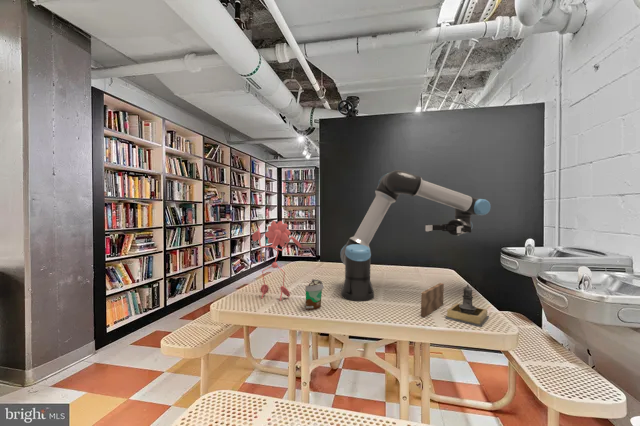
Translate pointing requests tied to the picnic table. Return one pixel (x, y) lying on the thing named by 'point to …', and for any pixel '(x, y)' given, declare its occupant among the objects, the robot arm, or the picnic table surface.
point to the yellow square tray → (467, 315)
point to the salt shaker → (467, 301)
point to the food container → (314, 294)
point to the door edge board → (432, 299)
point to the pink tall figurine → (276, 237)
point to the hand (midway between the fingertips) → (441, 229)
